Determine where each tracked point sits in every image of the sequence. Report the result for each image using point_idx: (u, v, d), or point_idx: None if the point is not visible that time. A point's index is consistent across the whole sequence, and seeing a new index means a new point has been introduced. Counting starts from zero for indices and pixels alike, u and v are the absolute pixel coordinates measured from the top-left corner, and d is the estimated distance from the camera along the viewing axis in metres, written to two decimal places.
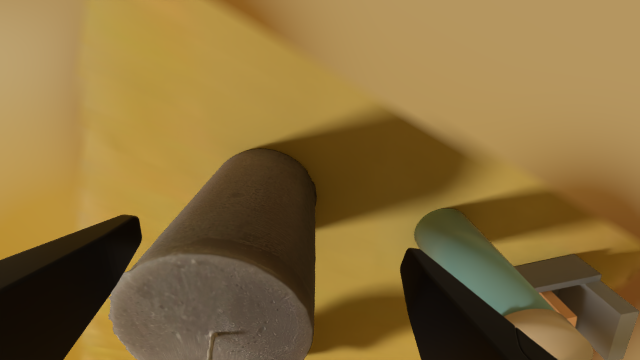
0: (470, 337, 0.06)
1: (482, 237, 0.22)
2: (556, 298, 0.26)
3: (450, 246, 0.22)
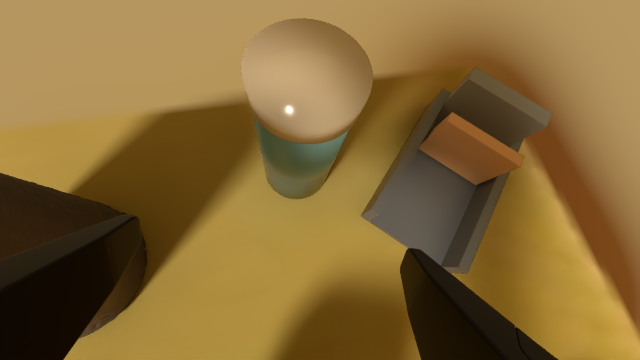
0: (470, 337, 0.06)
1: None
2: (437, 126, 0.23)
3: None
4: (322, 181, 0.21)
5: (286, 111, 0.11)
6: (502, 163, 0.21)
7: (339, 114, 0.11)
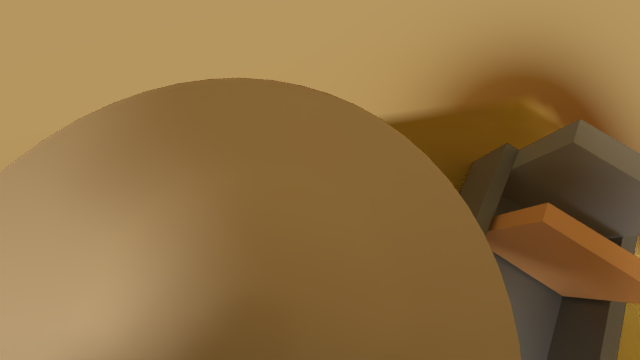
0: None
1: None
2: (509, 214, 0.14)
3: None
4: None
5: None
6: (639, 293, 0.12)
7: None
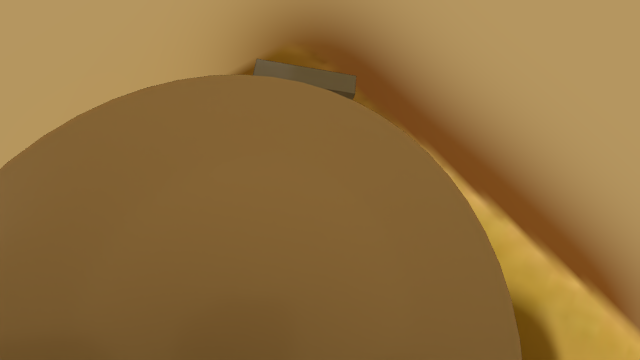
0: None
1: None
2: None
3: None
4: None
5: None
6: None
7: None
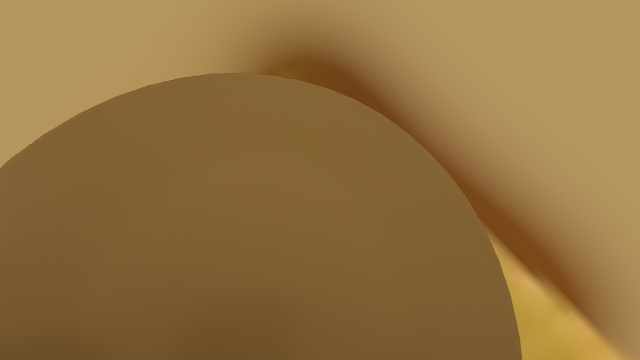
0: None
1: None
2: None
3: None
4: None
5: None
6: None
7: None
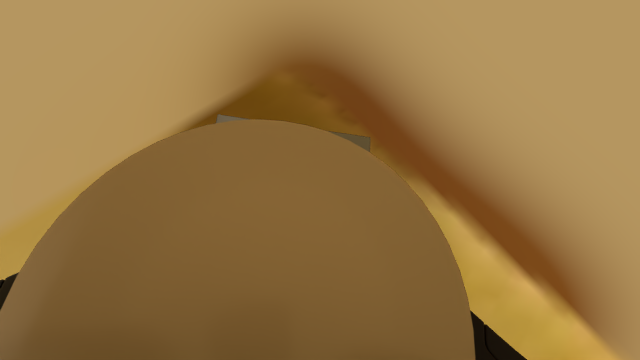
0: None
1: None
2: None
3: None
4: None
5: None
6: None
7: None
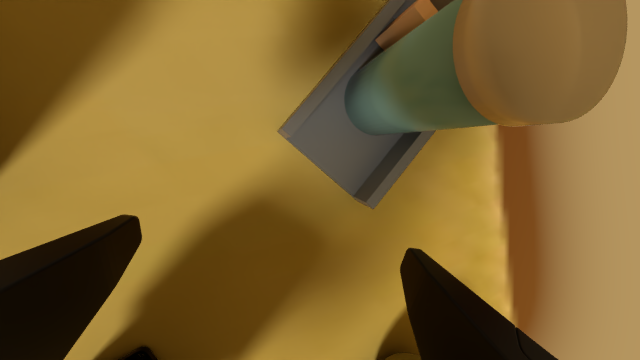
0: (470, 337, 0.06)
1: None
2: (402, 13, 0.17)
3: (385, 51, 0.16)
4: None
5: (511, 68, 0.08)
6: None
7: (552, 111, 0.09)
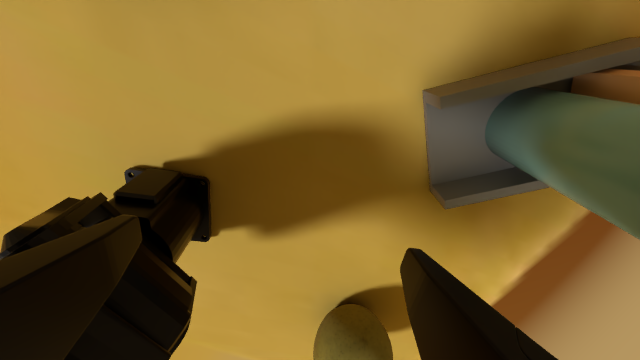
0: (470, 337, 0.06)
1: None
2: (632, 71, 0.16)
3: (591, 99, 0.15)
4: None
5: None
6: None
7: None
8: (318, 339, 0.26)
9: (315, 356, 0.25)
